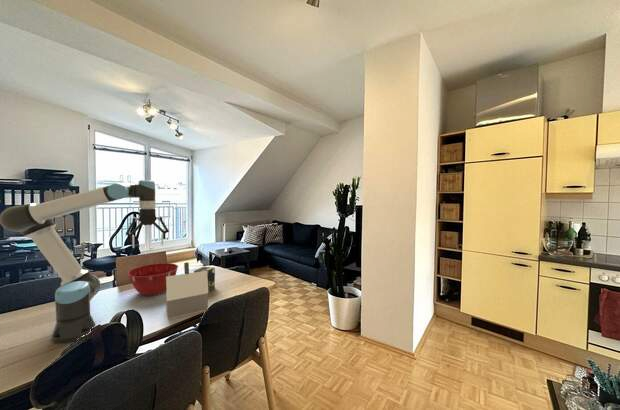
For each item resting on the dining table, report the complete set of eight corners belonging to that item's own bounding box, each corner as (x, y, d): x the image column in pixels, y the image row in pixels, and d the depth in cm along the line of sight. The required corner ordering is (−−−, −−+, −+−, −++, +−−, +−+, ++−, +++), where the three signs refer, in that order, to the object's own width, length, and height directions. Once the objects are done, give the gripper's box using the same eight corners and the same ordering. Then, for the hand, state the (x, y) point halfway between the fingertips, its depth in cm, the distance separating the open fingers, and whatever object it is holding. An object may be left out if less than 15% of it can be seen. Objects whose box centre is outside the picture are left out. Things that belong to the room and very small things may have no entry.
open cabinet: (167, 319, 134) (167, 301, 133) (166, 310, 144) (166, 292, 143) (207, 310, 145) (207, 293, 144) (203, 302, 155) (203, 286, 154)
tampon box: (206, 294, 166) (205, 272, 166) (193, 292, 168) (193, 271, 167) (215, 287, 177) (215, 267, 176) (203, 286, 179) (203, 266, 178)
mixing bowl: (116, 297, 158) (116, 273, 157) (154, 281, 186) (154, 261, 185) (154, 303, 152) (153, 278, 151) (187, 286, 179) (187, 264, 178)
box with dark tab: (166, 300, 137) (167, 301, 132) (165, 265, 141) (165, 265, 136) (206, 292, 148) (208, 292, 143) (204, 260, 152) (206, 260, 147)
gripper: (118, 209, 130) (119, 250, 131) (173, 208, 144) (174, 245, 145) (120, 208, 136) (121, 247, 138) (172, 207, 150) (173, 242, 151)
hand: (148, 246), depth 141 cm, fingers open, 13 cm apart
